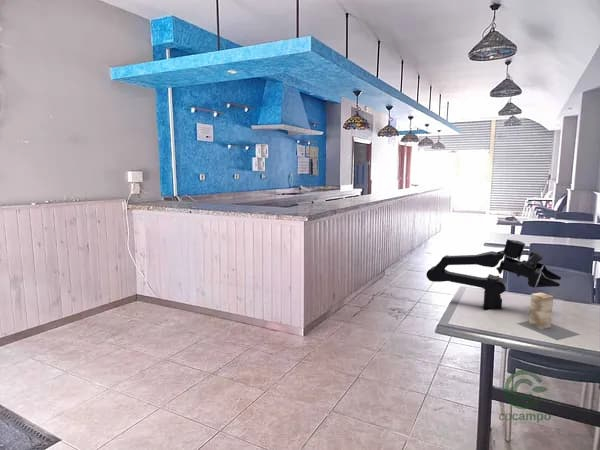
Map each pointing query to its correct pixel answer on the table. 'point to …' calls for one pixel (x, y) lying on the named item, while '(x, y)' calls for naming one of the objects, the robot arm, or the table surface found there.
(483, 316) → the table surface
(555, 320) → the table surface
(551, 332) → the rubber mat
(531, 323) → the maple block
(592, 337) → the table surface
